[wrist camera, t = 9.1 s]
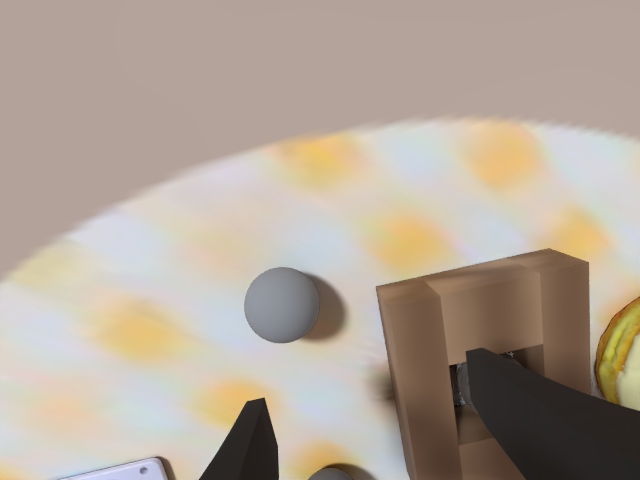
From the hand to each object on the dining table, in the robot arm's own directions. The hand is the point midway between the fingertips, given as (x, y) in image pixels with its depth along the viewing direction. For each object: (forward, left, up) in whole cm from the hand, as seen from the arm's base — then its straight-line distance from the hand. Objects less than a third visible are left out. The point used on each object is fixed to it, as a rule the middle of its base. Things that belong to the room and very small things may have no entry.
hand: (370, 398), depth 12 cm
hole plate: (+8, -7, -9) cm, 14 cm away
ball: (-3, +1, -7) cm, 8 cm away
